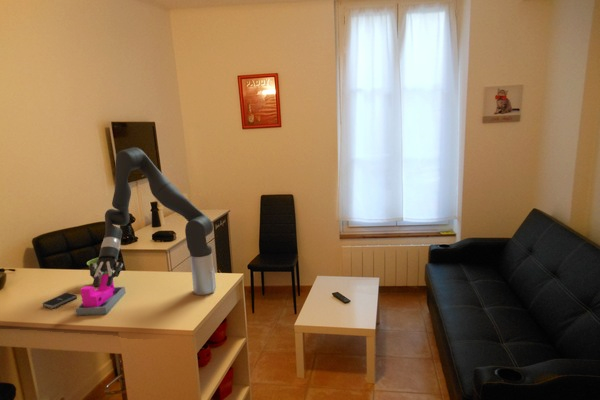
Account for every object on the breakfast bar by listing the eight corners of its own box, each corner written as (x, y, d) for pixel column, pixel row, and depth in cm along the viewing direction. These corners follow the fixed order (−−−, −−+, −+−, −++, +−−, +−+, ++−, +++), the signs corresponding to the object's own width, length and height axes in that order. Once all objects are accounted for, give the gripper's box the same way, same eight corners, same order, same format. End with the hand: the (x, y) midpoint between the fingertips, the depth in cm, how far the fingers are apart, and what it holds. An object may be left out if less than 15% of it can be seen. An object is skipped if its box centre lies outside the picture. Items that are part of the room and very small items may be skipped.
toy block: (97, 307, 156) (94, 289, 154) (83, 306, 157) (80, 289, 155) (119, 290, 170) (117, 274, 169) (106, 290, 171) (104, 273, 170)
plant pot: (123, 281, 188) (119, 258, 186) (99, 290, 178) (95, 266, 176) (108, 276, 194) (105, 254, 192) (84, 285, 185) (81, 262, 182)
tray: (125, 292, 174) (124, 286, 174) (106, 314, 155) (105, 307, 155) (98, 294, 174) (98, 288, 173) (76, 316, 155) (75, 309, 154)
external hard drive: (42, 307, 164) (41, 303, 164) (67, 296, 174) (66, 292, 173) (53, 310, 161) (52, 306, 161) (78, 299, 171) (77, 294, 171)
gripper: (89, 246, 171) (80, 284, 161) (123, 244, 171) (115, 282, 162) (97, 253, 177) (88, 290, 168) (129, 252, 178) (122, 288, 168)
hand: (101, 286), depth 165 cm, fingers closed on toy block, 4 cm apart
